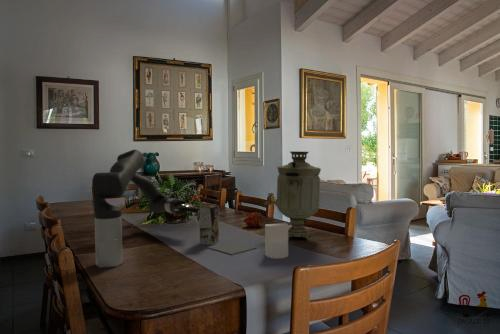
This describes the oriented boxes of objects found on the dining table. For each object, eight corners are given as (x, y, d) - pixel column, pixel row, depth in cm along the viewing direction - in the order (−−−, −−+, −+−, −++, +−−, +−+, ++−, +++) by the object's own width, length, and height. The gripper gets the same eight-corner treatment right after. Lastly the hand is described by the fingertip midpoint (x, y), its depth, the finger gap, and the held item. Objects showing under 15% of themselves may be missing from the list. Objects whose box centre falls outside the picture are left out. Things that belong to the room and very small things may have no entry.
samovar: (281, 228, 200) (281, 151, 198) (330, 233, 187) (330, 151, 185) (252, 240, 174) (251, 151, 173) (306, 247, 161) (306, 151, 159)
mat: (256, 248, 161) (256, 247, 161) (231, 254, 151) (231, 253, 151) (231, 241, 172) (231, 241, 172) (206, 247, 162) (206, 246, 162)
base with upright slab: (269, 259, 145) (269, 227, 144) (262, 253, 153) (262, 223, 153) (291, 257, 147) (291, 226, 146) (283, 251, 156) (283, 221, 155)
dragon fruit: (266, 228, 208) (245, 233, 204) (260, 217, 214) (239, 222, 210) (268, 217, 202) (247, 222, 198) (261, 206, 208) (241, 211, 204)
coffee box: (213, 245, 167) (213, 208, 166) (199, 244, 168) (198, 207, 167) (219, 240, 176) (219, 204, 175) (205, 239, 177) (205, 204, 176)
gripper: (163, 200, 185) (184, 203, 173) (186, 197, 194) (208, 200, 182) (164, 215, 186) (185, 220, 173) (186, 212, 195) (208, 216, 183)
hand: (196, 210), depth 178 cm, fingers closed
